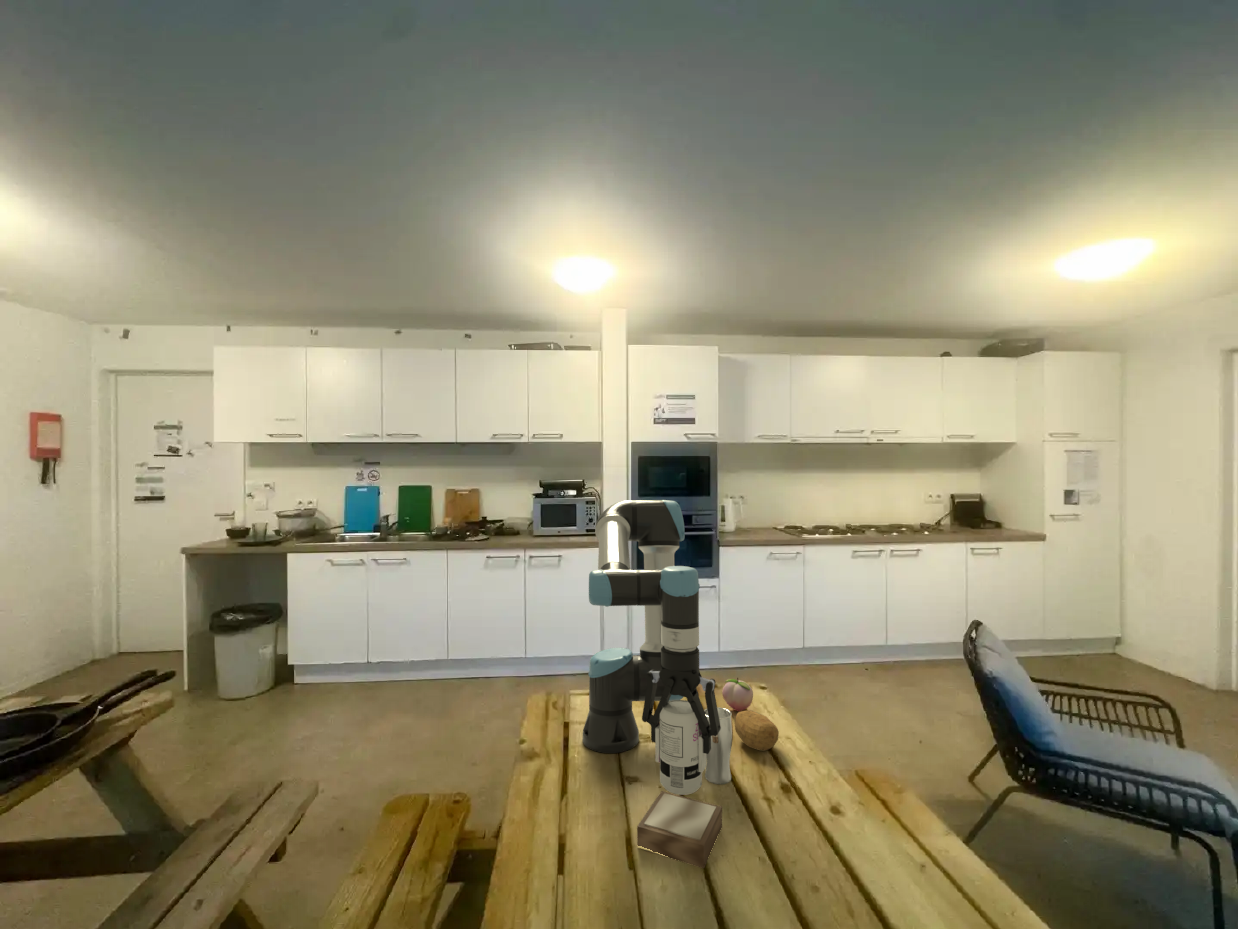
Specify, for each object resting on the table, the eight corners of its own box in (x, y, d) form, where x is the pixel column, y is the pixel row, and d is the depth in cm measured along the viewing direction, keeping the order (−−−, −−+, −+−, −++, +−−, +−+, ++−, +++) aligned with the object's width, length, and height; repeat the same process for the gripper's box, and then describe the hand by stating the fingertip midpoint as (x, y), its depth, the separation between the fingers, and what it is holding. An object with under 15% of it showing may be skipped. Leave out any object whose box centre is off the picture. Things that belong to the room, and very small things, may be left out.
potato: (754, 731, 150) (754, 702, 150) (788, 755, 137) (788, 723, 137) (724, 738, 146) (724, 708, 147) (756, 762, 133) (756, 730, 134)
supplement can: (656, 774, 109) (656, 699, 110) (696, 773, 110) (696, 698, 111) (663, 797, 101) (663, 716, 102) (706, 795, 102) (706, 714, 102)
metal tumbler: (736, 773, 128) (735, 709, 129) (729, 788, 122) (728, 721, 123) (707, 767, 131) (707, 704, 132) (699, 781, 125) (699, 715, 125)
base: (637, 848, 102) (637, 825, 102) (661, 810, 114) (661, 789, 114) (703, 868, 97) (703, 844, 97) (722, 826, 108) (722, 805, 109)
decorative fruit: (759, 710, 164) (758, 677, 164) (746, 719, 157) (745, 685, 158) (731, 702, 170) (731, 670, 170) (717, 710, 164) (717, 677, 164)
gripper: (624, 645, 108) (624, 761, 107) (727, 659, 99) (729, 786, 98) (638, 635, 114) (639, 744, 114) (737, 648, 106) (738, 766, 105)
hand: (680, 763), depth 106 cm, fingers closed on supplement can, 8 cm apart
